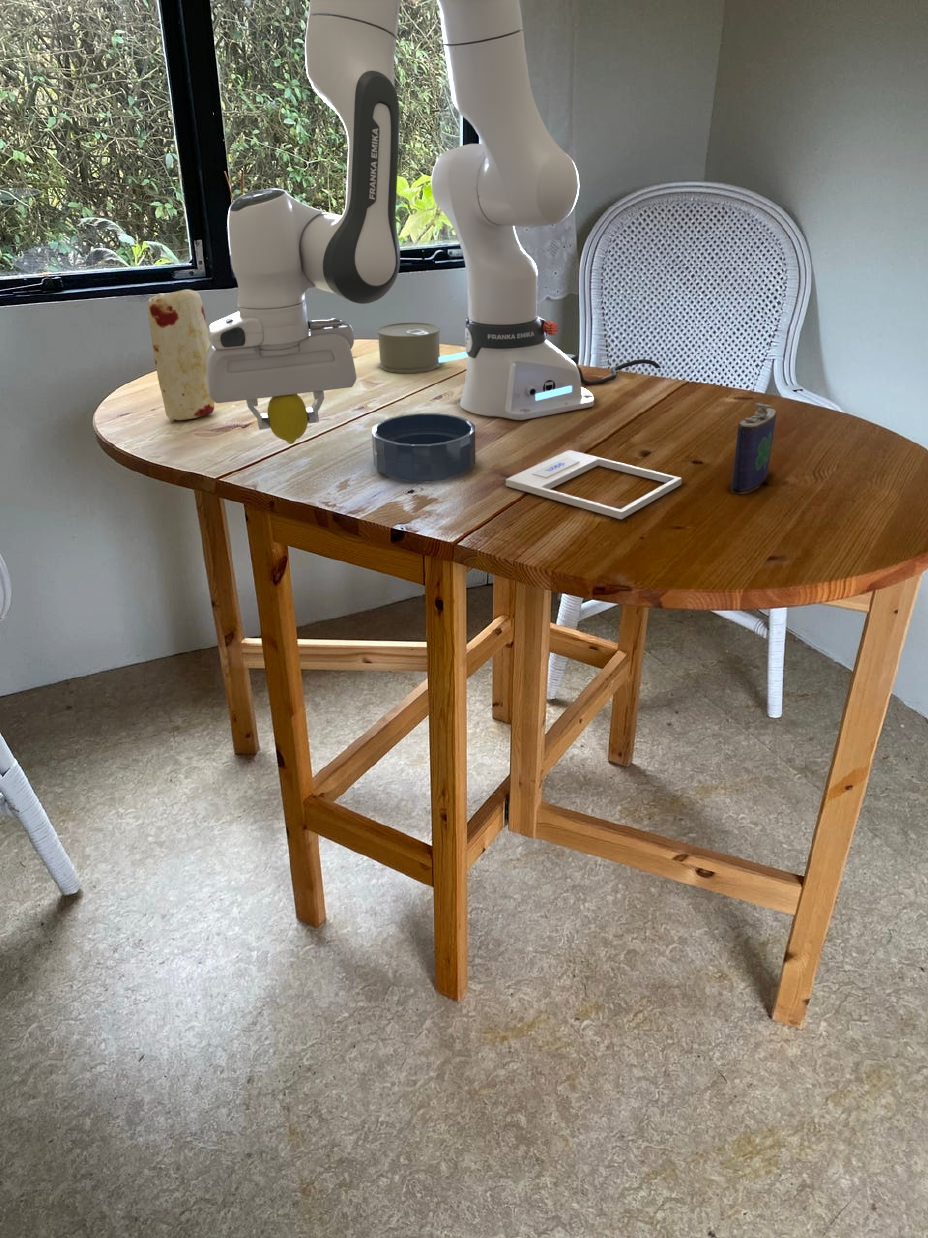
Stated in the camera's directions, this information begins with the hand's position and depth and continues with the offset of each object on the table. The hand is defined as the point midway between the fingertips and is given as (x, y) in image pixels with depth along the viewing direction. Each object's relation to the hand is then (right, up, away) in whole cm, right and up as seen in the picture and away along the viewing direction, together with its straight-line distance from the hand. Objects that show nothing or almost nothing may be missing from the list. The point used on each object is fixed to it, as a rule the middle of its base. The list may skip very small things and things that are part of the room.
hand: (288, 424), depth 129 cm
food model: (-20, +6, +23) cm, 31 cm away
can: (+14, +22, +49) cm, 55 cm away
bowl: (+19, -6, 0) cm, 20 cm away
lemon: (0, -3, +2) cm, 3 cm away
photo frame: (+42, -10, -8) cm, 44 cm away
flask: (+63, -9, -7) cm, 64 cm away
